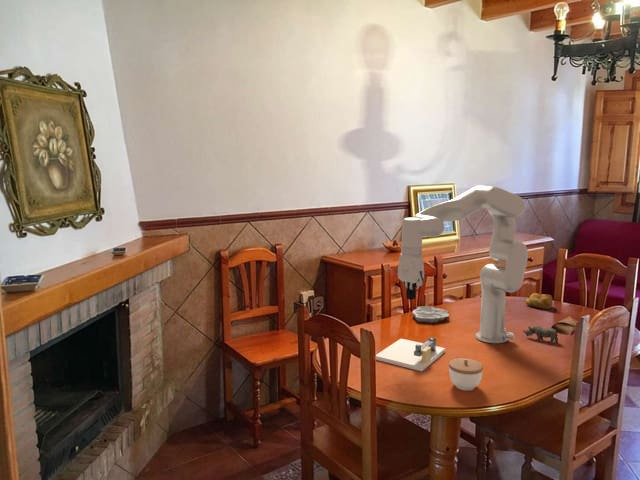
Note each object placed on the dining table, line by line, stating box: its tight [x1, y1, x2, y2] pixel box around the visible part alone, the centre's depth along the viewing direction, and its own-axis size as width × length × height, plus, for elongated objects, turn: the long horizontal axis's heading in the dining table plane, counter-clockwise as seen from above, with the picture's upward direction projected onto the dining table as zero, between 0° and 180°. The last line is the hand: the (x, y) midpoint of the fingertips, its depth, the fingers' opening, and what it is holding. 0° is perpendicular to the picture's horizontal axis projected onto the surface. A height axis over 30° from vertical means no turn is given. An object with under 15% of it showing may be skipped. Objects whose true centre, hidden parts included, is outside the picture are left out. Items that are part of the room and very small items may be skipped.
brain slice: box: [412, 305, 450, 324], centre depth 238 cm, size 20×17×3 cm
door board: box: [376, 338, 446, 372], centre depth 192 cm, size 19×22×6 cm
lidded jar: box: [448, 357, 484, 392], centre depth 166 cm, size 11×11×9 cm
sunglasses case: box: [550, 315, 578, 336], centre depth 222 cm, size 18×7×7 cm, turn 134°
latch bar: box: [414, 336, 437, 357], centre depth 188 cm, size 16×3×6 cm, turn 146°
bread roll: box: [525, 292, 554, 310], centre depth 254 cm, size 13×10×8 cm
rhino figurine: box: [522, 325, 559, 345], centre depth 208 cm, size 4×14×6 cm, turn 53°
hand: (411, 298), depth 190 cm, fingers closed
